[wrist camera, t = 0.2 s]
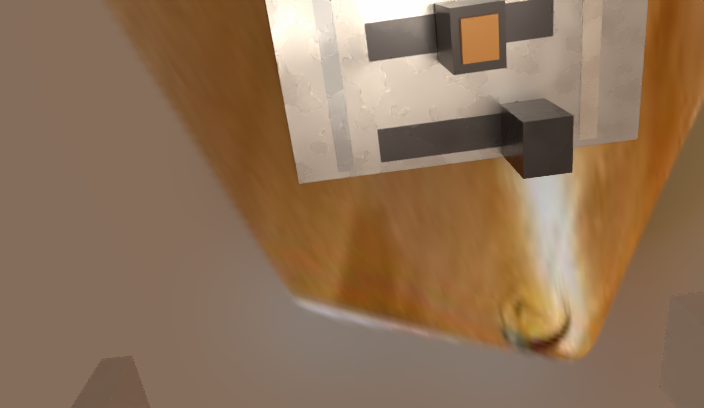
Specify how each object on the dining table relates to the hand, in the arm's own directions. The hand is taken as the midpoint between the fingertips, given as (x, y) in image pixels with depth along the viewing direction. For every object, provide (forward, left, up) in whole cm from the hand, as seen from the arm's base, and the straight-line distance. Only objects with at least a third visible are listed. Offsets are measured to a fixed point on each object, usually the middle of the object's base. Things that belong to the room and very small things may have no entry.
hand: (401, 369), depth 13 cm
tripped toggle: (-5, +7, -25) cm, 26 cm away
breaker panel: (-5, +7, -28) cm, 29 cm away
